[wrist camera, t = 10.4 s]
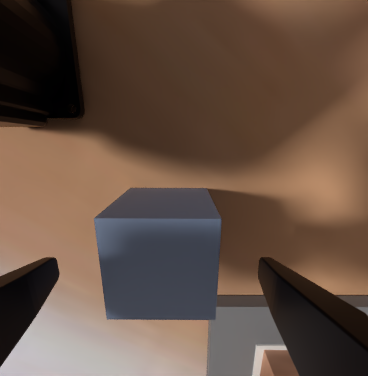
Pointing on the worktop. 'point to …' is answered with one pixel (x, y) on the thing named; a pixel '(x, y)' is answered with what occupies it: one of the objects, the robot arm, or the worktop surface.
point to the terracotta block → (277, 364)
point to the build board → (247, 334)
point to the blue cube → (160, 254)
